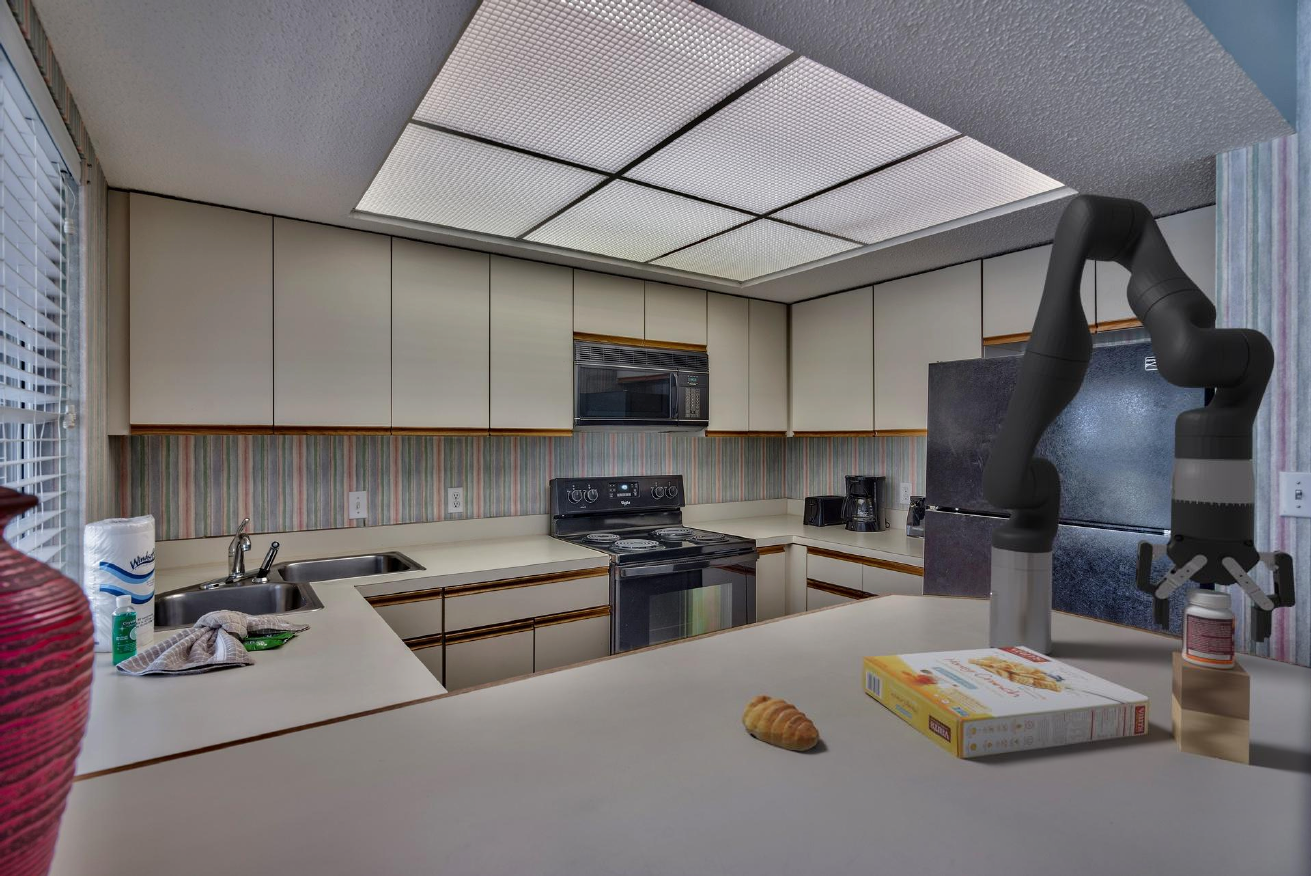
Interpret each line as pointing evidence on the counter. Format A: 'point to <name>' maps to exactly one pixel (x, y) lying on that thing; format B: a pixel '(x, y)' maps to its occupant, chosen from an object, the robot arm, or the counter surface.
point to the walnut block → (1211, 688)
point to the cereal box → (1002, 700)
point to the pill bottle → (1208, 629)
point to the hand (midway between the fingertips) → (1209, 634)
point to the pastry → (779, 724)
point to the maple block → (1210, 734)
